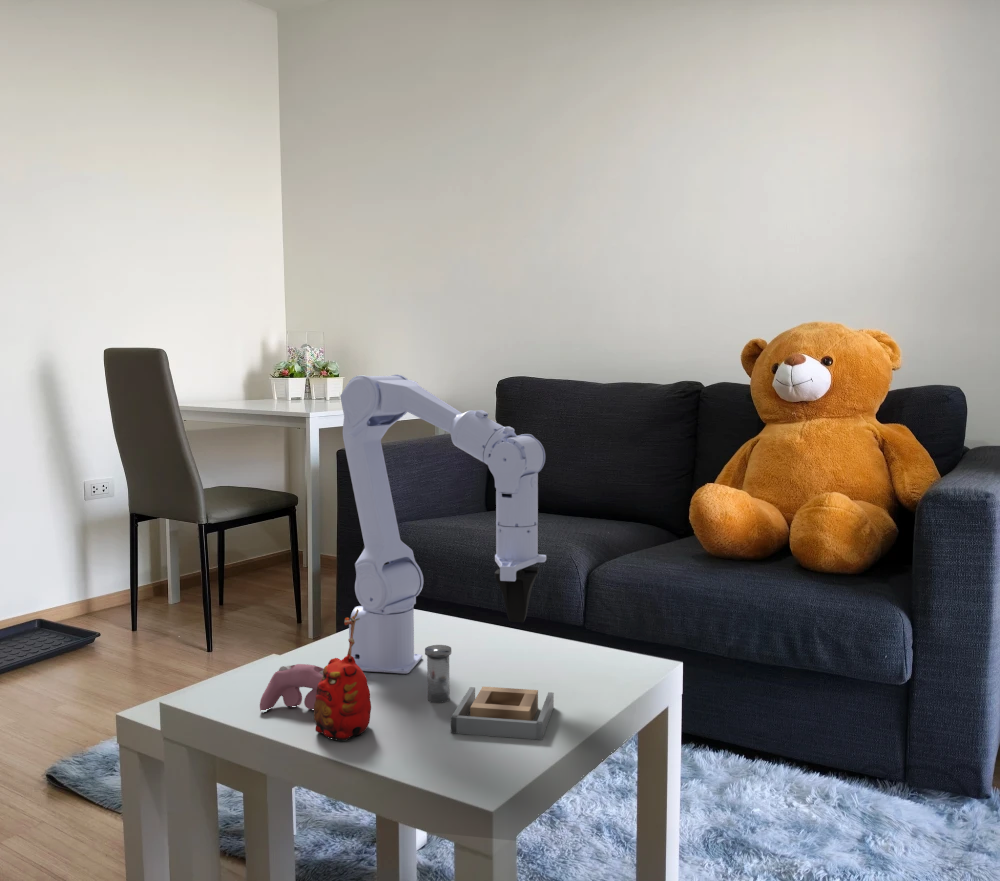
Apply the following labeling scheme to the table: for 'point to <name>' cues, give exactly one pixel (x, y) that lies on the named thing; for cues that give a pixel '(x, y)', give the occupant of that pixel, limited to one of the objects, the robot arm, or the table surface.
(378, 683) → the table surface
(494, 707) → the wooden square frame
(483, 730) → the grey u-shaped bracket
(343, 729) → the red clay folk toy
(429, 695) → the silver cylindrical piece
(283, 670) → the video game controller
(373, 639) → the robot arm
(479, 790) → the table surface
